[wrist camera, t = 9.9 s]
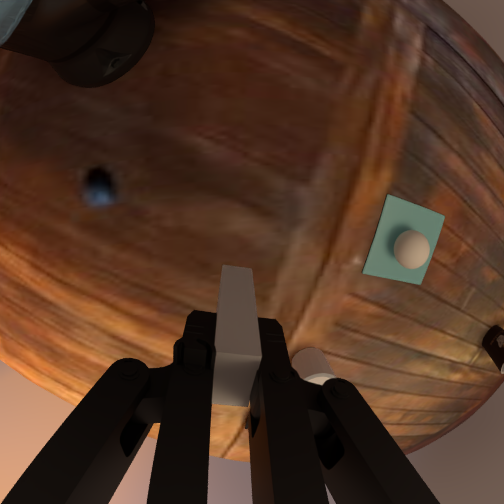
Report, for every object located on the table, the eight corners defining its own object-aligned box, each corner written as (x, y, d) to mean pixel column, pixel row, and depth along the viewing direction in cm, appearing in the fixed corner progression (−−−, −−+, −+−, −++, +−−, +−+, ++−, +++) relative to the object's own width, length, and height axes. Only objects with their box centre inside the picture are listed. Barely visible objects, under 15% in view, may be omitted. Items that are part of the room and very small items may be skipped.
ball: (399, 222, 38) (401, 227, 33) (431, 234, 36) (437, 241, 31) (388, 256, 40) (388, 265, 35) (419, 268, 38) (423, 279, 33)
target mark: (387, 194, 36) (387, 194, 35) (444, 215, 37) (445, 216, 37) (361, 272, 40) (362, 273, 39) (419, 284, 41) (420, 284, 41)
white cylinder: (293, 343, 43) (301, 372, 37) (333, 345, 44) (345, 373, 37) (283, 373, 46) (289, 403, 39) (320, 374, 46) (330, 403, 40)
